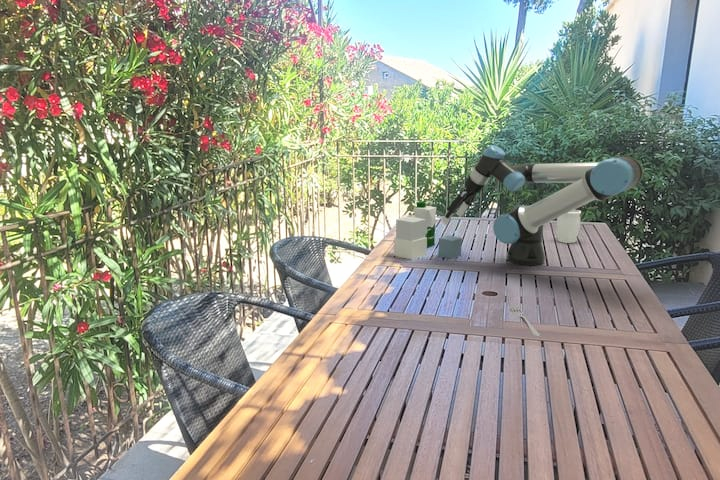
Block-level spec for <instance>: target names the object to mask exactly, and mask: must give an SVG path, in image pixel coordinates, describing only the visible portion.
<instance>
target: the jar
mask: <svg viewBox="0 0 720 480" xmlns="http://www.w3.org/2000/svg"><path fill="white" fill-rule="evenodd" d="M581 214H582V211H581V210H578V209H575V210H572V211H570V212H568V213H566V214H564V215H562V216H560V217H558V218H556V233H557V236H558V238H557V241H558V242H559V243H563V244H575V243H576V242H577V237H578V234H579V231H580V227H581Z"/></svg>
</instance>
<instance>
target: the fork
mask: <svg viewBox="0 0 720 480" xmlns="http://www.w3.org/2000/svg"><path fill="white" fill-rule="evenodd" d="M509 305H510V308H511V311H512V314H516V315H517V314H519V315H518V316H517V317H518V318H522V319H523V320H524V321H525V323H526V325H527V326H528V328H529V330H530V332H531V333H532V335H534V336H537V337H539V336H540V333H539V332H538V330H536V329H535V327H534V326H533V325H532V324H531V323H530V321H529V320H528V319H527V318H526V316H524V312H523V311H522V309H521V306H520V305H519V303H517V304H516V303H514V304H512V303H510V304H509Z"/></svg>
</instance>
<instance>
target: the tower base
mask: <svg viewBox="0 0 720 480" xmlns="http://www.w3.org/2000/svg"><path fill="white" fill-rule="evenodd" d="M393 241H394V242H393V256H395V257H399V258H404V259H408V260H417V259H419V258H422V257H425V256H427V253H428V252H427V250H428V248H427V237H425V238H422V239H418V240H415V241H409V240H404V239H400V238H396V236H395V237H394V238H393Z"/></svg>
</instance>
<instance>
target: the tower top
mask: <svg viewBox="0 0 720 480" xmlns="http://www.w3.org/2000/svg"><path fill="white" fill-rule="evenodd" d="M425 236H426V219H421V218H415V216H406V217H402V218H398V219H396V222H395V237H396V238H400V239H404V240H409V241H415V240H418V239H422V238H425Z"/></svg>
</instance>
